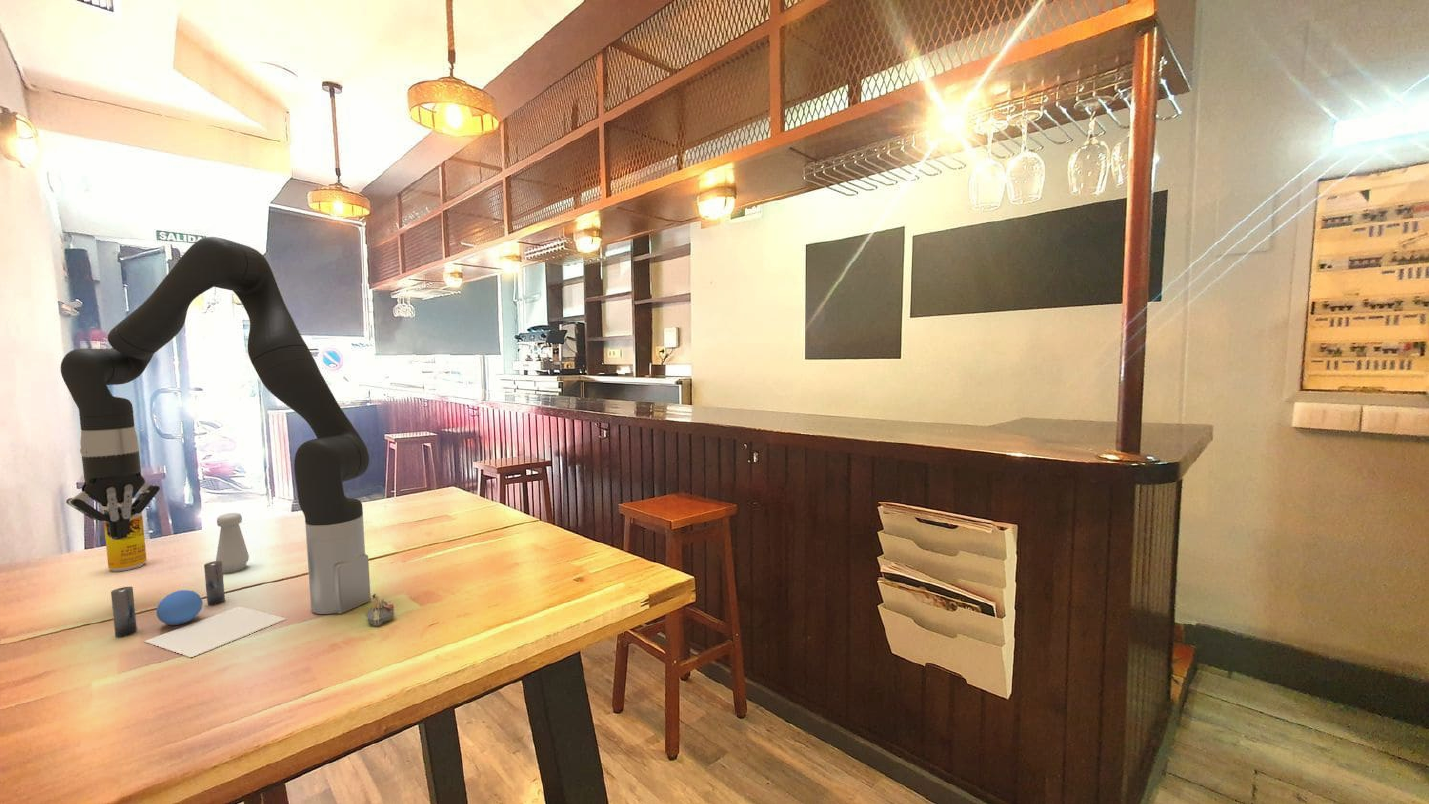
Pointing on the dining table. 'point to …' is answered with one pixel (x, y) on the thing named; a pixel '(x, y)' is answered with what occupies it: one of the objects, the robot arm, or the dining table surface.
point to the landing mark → (214, 631)
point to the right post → (214, 582)
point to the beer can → (127, 547)
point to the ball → (179, 607)
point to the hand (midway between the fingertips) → (119, 538)
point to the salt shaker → (231, 543)
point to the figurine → (380, 612)
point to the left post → (123, 611)
